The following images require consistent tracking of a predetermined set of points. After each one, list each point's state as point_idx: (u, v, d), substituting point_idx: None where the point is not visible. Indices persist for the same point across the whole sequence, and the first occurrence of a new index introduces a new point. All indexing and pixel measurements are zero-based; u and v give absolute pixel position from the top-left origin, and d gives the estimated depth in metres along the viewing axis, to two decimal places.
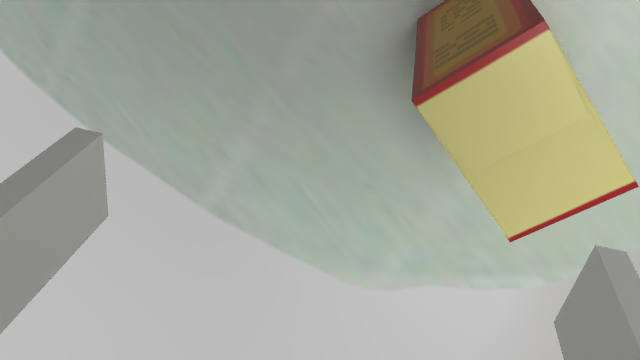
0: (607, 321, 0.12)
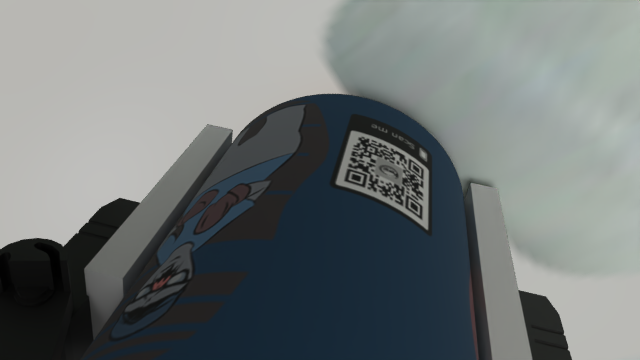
0: (468, 242, 0.14)
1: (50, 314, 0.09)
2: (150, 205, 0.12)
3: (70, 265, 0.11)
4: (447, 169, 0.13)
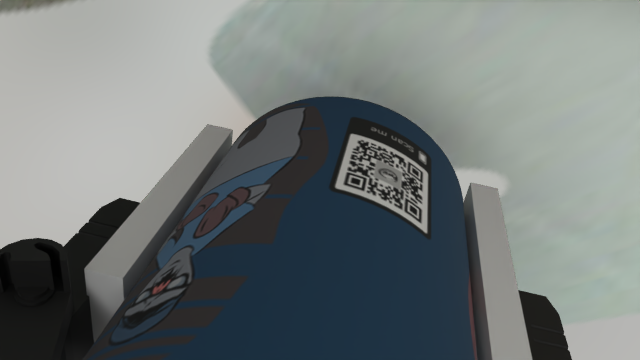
0: (468, 242, 0.14)
1: (50, 314, 0.09)
2: (150, 205, 0.12)
3: (69, 265, 0.11)
4: (446, 172, 0.13)
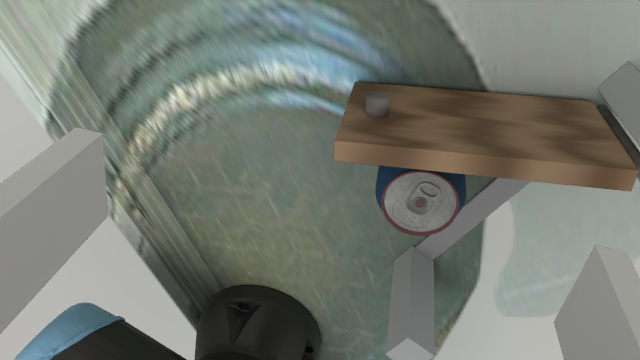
0: (606, 321, 0.12)
1: None
2: None
3: None
4: None
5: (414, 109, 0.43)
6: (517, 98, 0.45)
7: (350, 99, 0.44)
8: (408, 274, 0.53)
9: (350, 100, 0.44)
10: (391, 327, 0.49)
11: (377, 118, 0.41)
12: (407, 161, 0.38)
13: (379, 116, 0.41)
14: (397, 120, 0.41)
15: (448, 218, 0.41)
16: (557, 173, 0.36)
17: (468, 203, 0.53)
